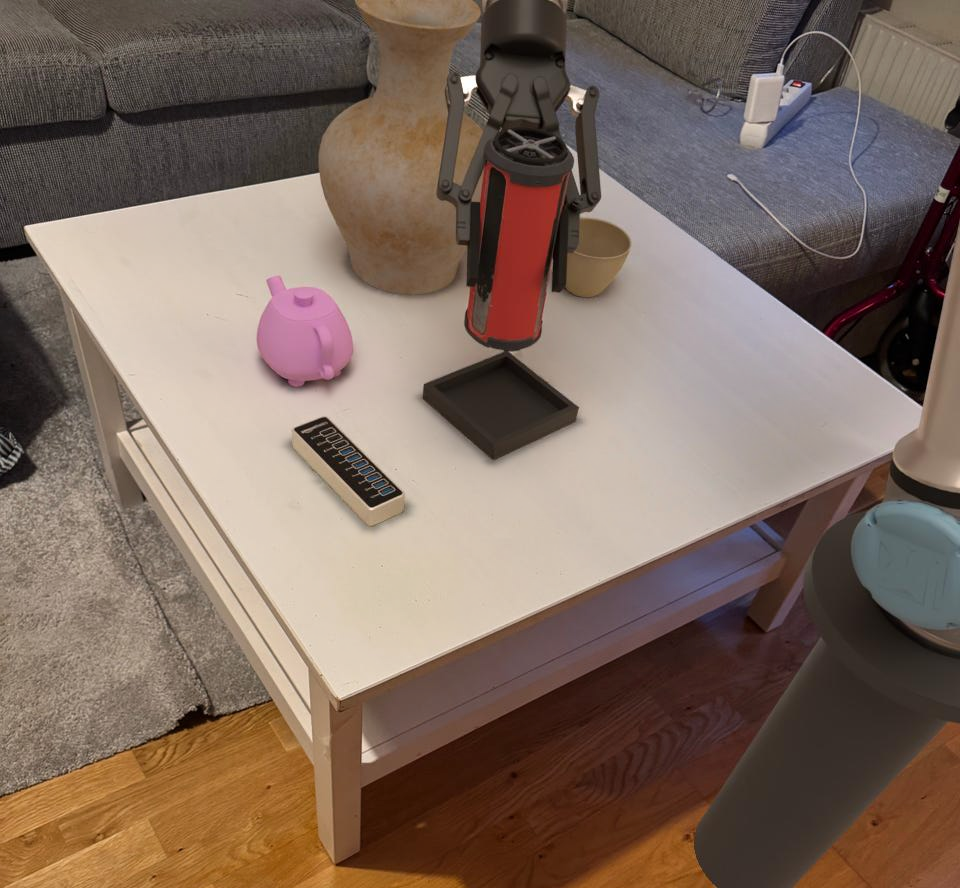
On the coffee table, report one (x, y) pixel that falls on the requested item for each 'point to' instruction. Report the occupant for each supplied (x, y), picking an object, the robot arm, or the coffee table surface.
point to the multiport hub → (348, 470)
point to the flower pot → (596, 257)
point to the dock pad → (500, 404)
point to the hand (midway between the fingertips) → (515, 285)
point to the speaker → (517, 235)
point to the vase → (401, 151)
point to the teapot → (303, 334)
